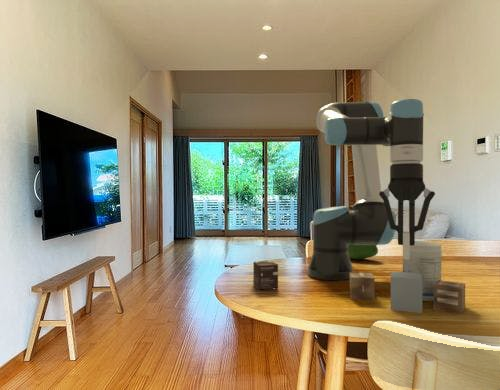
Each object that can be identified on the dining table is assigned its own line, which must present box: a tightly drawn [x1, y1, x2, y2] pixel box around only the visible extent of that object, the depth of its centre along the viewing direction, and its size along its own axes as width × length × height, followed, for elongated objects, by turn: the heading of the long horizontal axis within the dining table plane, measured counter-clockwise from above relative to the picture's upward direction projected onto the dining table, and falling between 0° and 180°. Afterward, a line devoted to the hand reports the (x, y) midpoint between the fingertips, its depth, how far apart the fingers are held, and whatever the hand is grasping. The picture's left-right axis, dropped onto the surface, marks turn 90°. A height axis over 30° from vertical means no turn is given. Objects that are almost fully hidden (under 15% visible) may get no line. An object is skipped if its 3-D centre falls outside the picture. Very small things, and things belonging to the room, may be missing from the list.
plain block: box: [390, 270, 423, 314], centre depth 91 cm, size 7×7×8 cm
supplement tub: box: [402, 240, 443, 302], centre depth 100 cm, size 10×10×15 cm
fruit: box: [348, 245, 379, 261], centre depth 153 cm, size 15×10×10 cm, turn 47°
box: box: [252, 260, 279, 291], centre depth 110 cm, size 6×6×7 cm
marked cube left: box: [349, 271, 376, 302], centre depth 99 cm, size 6×8×6 cm
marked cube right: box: [433, 279, 466, 315], centre depth 90 cm, size 6×6×6 cm
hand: (406, 258), depth 91 cm, fingers closed
